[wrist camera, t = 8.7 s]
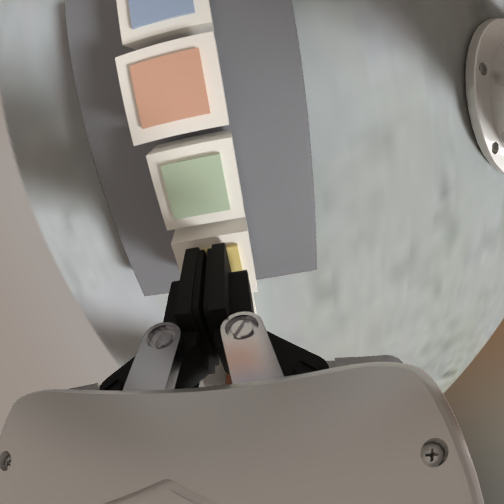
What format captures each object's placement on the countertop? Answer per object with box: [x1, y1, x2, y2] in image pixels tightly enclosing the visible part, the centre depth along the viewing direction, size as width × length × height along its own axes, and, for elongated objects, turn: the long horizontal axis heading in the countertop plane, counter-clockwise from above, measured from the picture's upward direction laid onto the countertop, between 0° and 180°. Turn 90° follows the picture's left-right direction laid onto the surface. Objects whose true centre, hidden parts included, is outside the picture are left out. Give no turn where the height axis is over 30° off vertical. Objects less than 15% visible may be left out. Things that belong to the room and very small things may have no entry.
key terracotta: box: [115, 32, 229, 146], centre depth 9 cm, size 3×3×4 cm
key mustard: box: [171, 210, 258, 293], centre depth 14 cm, size 3×3×4 cm
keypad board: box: [64, 0, 317, 296], centre depth 12 cm, size 17×10×2 cm, turn 8°
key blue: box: [116, 0, 214, 50], centre depth 8 cm, size 3×3×4 cm
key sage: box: [146, 130, 245, 231], centre depth 12 cm, size 3×3×4 cm
